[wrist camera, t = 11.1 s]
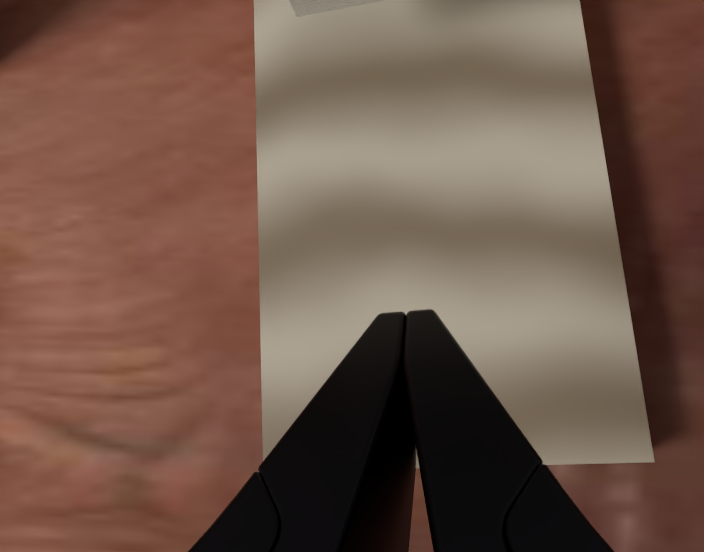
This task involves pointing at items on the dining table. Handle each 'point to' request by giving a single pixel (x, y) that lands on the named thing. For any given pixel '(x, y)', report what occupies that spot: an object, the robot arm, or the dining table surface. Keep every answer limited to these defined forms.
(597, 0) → the dining table surface
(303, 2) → the grey cube
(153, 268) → the dining table surface
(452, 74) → the l-shaped wooden stand
